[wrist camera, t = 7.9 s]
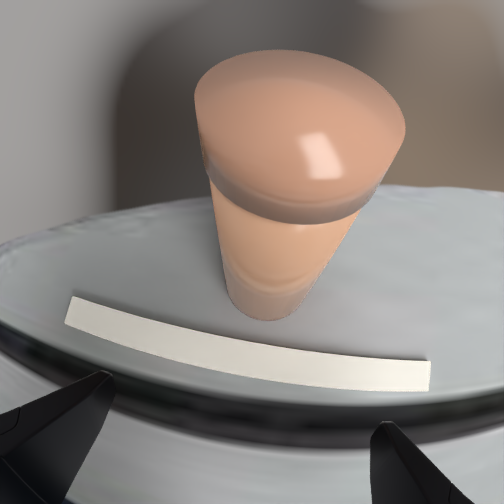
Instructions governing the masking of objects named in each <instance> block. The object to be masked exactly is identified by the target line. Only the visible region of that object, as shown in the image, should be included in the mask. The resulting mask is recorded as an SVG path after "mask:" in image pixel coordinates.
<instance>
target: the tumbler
mask: <svg viewBox="0 0 504 504" xmlns="http://www.w3.org/2000/svg"><path fill="white" fill-rule="evenodd" d="M194 99H195V108H196V114H197V122H198V129H199V136H200V142H201V150H202V156H203V163H204V166H205V169H206V172H207V174H208V176H209V179H210V186H211V192H212V199H213V206H214V213H215V219H216V225H217V232H218V238H219V244H220V250H221V256H222V262H223V268H224V274H225V280H226V286H227V291H228V294H229V297H230V299H231V301H232V302H233V304H234V305H235V306H236V307H237V308H238V309H239V310H240V311H241V312H242V313H244V314H245V315H247V316H249V317H251V318H254V319H257V320H262V321H273V320H278V319H281V318H284V317H286V316H288V315H290V314H291V313H293V312H294V311H295V310H296V309H297V308H298V307H299V306H300V305H301V303H302V302H303V300H304V299H305V297H306V296H307V294H308V293H309V291H310V290H311V288H312V287H313V285H314V284H315V282H316V281H317V279H318V278H319V276H320V274H321V273H322V271H323V270H324V268H325V267H326V265H327V264H328V262H329V260H330V259H331V257H332V256H333V254H334V253H335V251H336V249H337V248H338V246H339V245H340V243H341V241H342V240H343V238H344V236H345V235H346V233H347V231H348V230H349V228H350V227H351V225H352V223H353V221H354V220H355V218H356V216H357V215H358V213H359V211H360V210H361V208H362V207H363V206H364V205H365V204H367V203H368V201H369V200H370V199H371V197H372V196H373V194H374V193H375V191H376V189H377V188H378V186H379V184H380V182H381V181H382V179H383V177H384V175H385V174H386V172H387V170H388V168H389V166H390V164H391V163H392V161H393V159H394V157H395V155H396V154H397V152H398V150H399V148H400V146H401V144H402V142H403V139H404V137H405V129H406V128H405V121H404V118H403V114H402V112H401V110H400V108H399V106H398V105H397V103H396V101H395V100H394V99H393V98H392V96H391V95H390V94H389V93H388V92H387V91H386V90H385V89H384V88H383V87H382V86H381V85H380V84H378V83H377V82H376V81H375V80H373V79H372V78H371V77H369V76H368V75H366V74H364V73H362V72H361V71H359V70H357V69H356V68H354V67H352V66H349V65H347V64H345V63H343V62H340V61H337V60H335V59H332V58H329V57H326V56H321V55H317V54H313V53H308V52H302V51H294V50H265V51H256V52H250V53H245V54H241V55H238V56H235V57H232V58H229V59H227V60H225V61H222V62H221V63H219V64H217V65H216V66H214V67H213V68H211V69H210V70H209V71H208V72H207V73H206V74H205V75H204V76H203V77H202V78H201V79H200V81H199V82H198V85H197V88H196V89H195V96H194Z"/></svg>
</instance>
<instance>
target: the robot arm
mask: <svg viewBox="0 0 504 504" xmlns="http://www.w3.org/2000/svg"><path fill="white" fill-rule="evenodd" d="M115 394H116V389H115V384H114V379H113V375H112V374H111V373H108V372H106V371H103V370H100V371H98V372H96V373H94V374H91V375H89V376H87V377H85V378H83V379H81V380H79V381H76V382H74V383H72V384H70V385H68V386H66V387H63V388H61V389H59V390H57V391H55V392H52V393H50V394H48V395H46V396H43V397H41V398H39V399H37V400H34V401H32V402H30V403H27V404H25V405H23V406H21V407H18V408H16V409H13V410H11V411H8V412H5V413H3V414H0V504H61V503H62V501H63V499H64V497H65V496H66V494H67V492H68V490H69V488H70V486H71V484H72V482H73V480H74V478H75V476H76V474H77V473H78V471H79V469H80V467H81V465H82V463H83V461H84V460H85V458H86V456H87V454H88V452H89V450H90V449H91V447H92V445H93V443H94V441H95V440H96V438H97V436H98V434H99V432H100V430H101V428H102V426H103V424H104V421H105V419H106V416H107V414H108V411H109V409H110V407H111V404H112V402H113V399H114V397H115ZM370 483H371V494H372V504H474V503H473V502H472V501H471V500H469V499H468V498H467V497H466V496H465V495H464V494H463V493H462V492H461V491H460V490H459V489H458V488H457V487H456V486H455V485H454V484H453V483H451V481H450V480H449V479H448V478H447V477H446V476H445V475H444V474H443V473H442V472H441V471H440V470H439V469H438V468H437V467H436V466H435V465H434V464H433V463H432V462H431V461H430V460H429V459H428V458H427V457H426V456H425V455H424V453H423V452H422V451H421V450H420V449H419V448H418V447H417V446H416V445H415V444H414V443H413V442H412V441H411V440H410V439H409V438H408V437H407V436H406V435H405V434H404V433H403V431H402V430H401V429H400V428H399V427H398V426H397V425H396V424H395V423H394V422H391V421H389V422H382V423H380V425H379V426H378V427H377V429H376V430H375V432H374V433H373V435H372V437H371V440H370Z"/></svg>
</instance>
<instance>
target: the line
mask: <svg viewBox="0 0 504 504" xmlns="http://www.w3.org/2000/svg"><path fill="white" fill-rule="evenodd" d="M64 324H66V325H69V326H71V327H74V328H76V329H79V330H81V331H84V332H87V333H89V334H92V335H95V336H97V337H100V338H103V339H106V340H109V341H112V342H114V343H117V344H120V345H123V346H127V347H130V348H133V349H136V350H139V351H142V352H146V353H149V354H153V355H156V356H160V357H163V358H167V359H170V360H174V361H178V362H182V363H186V364H190V365H194V366H198V367H202V368H207V369H211V370H216V371H220V372H225V373H230V374H235V375H240V376H246V377H251V378H257V379H263V380H269V381H276V382H282V383H290V384H297V385H305V386H314V387H324V388H335V389H348V390H365V391H429V381H430V369H431V361H409V360H391V359H377V358H365V357H355V356H345V355H336V354H327V353H319V352H311V351H304V350H297V349H290V348H284V347H277V346H271V345H265V344H260V343H254V342H249V341H243V340H238V339H233V338H228V337H223V336H218V335H213V334H209V333H204V332H200V331H195V330H191V329H187V328H182V327H178V326H174V325H170V324H166V323H162V322H158V321H155V320H151V319H147V318H143V317H140V316H136V315H133V314H129V313H126V312H122V311H119V310H115V309H112V308H109V307H106V306H102V305H99V304H96V303H93V302H90V301H87V300H84V299H81V298H78V297H75V296H72V299H71V302H70V305H69V308H68V312H67V315H66V318H65V322H64Z"/></svg>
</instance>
